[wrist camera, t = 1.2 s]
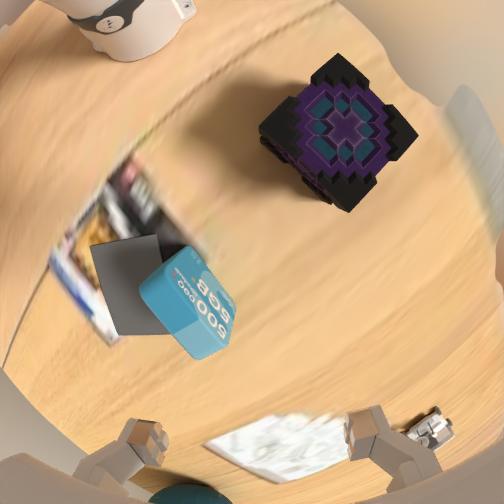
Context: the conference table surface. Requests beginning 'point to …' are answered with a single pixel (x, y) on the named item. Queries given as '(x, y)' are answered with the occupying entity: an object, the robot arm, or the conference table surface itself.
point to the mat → (129, 282)
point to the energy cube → (337, 134)
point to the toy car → (432, 431)
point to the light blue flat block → (190, 303)
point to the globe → (188, 495)
